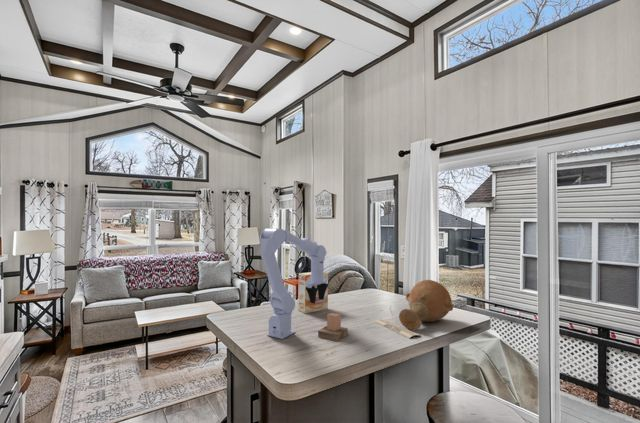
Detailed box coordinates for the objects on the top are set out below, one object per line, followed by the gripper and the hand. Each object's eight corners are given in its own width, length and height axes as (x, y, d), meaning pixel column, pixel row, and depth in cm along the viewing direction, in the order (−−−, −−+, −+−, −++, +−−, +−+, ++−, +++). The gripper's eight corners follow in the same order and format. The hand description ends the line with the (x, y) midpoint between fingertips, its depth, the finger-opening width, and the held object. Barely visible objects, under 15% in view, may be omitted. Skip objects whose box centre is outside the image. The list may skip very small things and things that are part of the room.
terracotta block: (335, 331, 131) (335, 316, 131) (327, 329, 134) (327, 314, 134) (340, 328, 134) (340, 314, 135) (332, 326, 137) (332, 312, 137)
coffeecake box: (304, 313, 165) (305, 274, 166) (297, 310, 171) (297, 273, 171) (328, 309, 174) (328, 272, 174) (320, 306, 179) (320, 270, 180)
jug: (465, 296, 154) (442, 318, 131) (442, 323, 162) (417, 347, 139) (430, 268, 163) (403, 283, 140) (410, 294, 172) (382, 313, 149)
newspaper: (421, 338, 133) (421, 333, 133) (407, 340, 130) (407, 336, 130) (385, 322, 154) (385, 318, 154) (373, 324, 151) (373, 320, 151)
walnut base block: (338, 342, 127) (338, 334, 127) (318, 338, 132) (318, 330, 132) (347, 335, 135) (347, 328, 135) (328, 331, 140) (328, 324, 140)
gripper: (316, 274, 140) (316, 305, 140) (332, 269, 153) (332, 299, 153) (303, 272, 144) (302, 303, 143) (319, 268, 156) (319, 297, 156)
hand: (317, 301), depth 148 cm, fingers open, 7 cm apart
